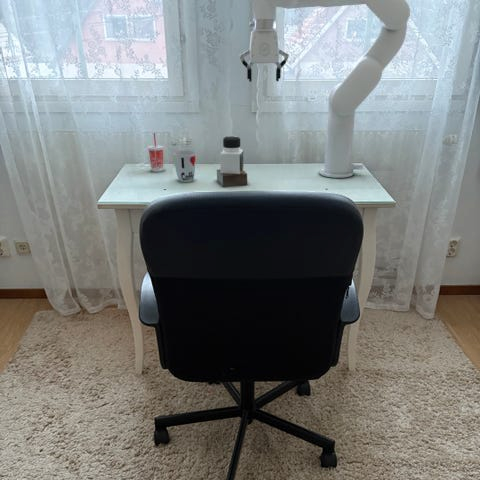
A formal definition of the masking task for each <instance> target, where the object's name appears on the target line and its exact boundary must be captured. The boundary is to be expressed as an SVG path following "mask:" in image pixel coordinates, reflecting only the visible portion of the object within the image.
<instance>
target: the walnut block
mask: <svg viewBox="0 0 480 480" xmlns="http://www.w3.org/2000/svg"><path fill="white" fill-rule="evenodd" d="M216 181H217V182H218V183H219V184H220V185H221V187H222V188H227V187H239V186H247V185H248V173H247V172H246V171H245V170H244V169H243V170H242V172H241V173H240V174H223V173H221V168H220V169H216Z"/></svg>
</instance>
